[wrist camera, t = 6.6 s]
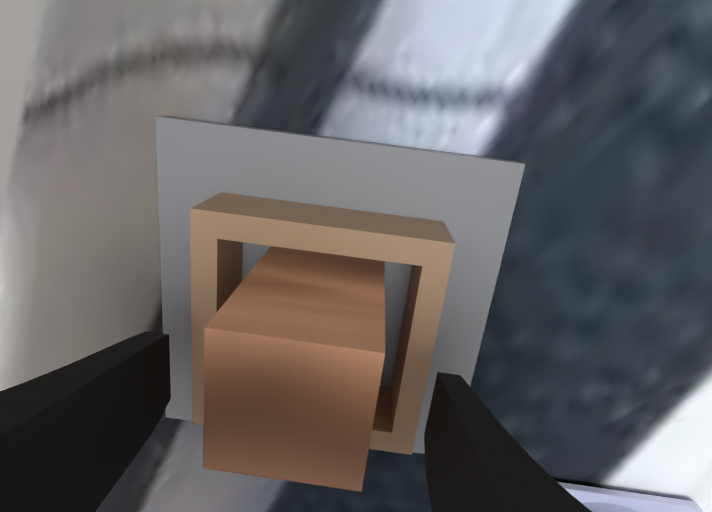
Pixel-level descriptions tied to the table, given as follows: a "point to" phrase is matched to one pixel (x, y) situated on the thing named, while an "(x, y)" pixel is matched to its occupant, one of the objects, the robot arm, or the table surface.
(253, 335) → the tan wooden block
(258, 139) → the dock
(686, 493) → the table surface
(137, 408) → the robot arm
